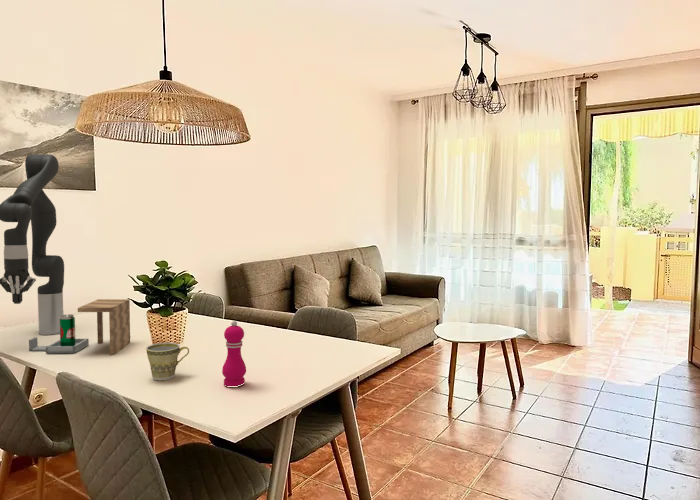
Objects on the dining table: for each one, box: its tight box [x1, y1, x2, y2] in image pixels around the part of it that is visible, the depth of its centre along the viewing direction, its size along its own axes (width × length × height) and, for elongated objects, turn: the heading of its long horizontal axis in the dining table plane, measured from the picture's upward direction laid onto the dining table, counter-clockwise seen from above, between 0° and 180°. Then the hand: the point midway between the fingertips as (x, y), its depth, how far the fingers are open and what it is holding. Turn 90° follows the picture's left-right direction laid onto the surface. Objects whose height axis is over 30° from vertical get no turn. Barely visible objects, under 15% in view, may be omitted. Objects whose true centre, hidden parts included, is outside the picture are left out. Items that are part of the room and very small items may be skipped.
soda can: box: [59, 314, 76, 346], centre depth 191 cm, size 5×5×12 cm
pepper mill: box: [221, 320, 247, 386], centre depth 155 cm, size 7×7×20 cm
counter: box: [77, 298, 131, 356], centre depth 193 cm, size 18×12×18 cm, turn 5°
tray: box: [28, 336, 90, 354], centre depth 191 cm, size 12×18×4 cm, turn 95°
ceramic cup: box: [145, 342, 190, 382], centre depth 162 cm, size 13×10×10 cm
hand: (17, 303), depth 189 cm, fingers closed
